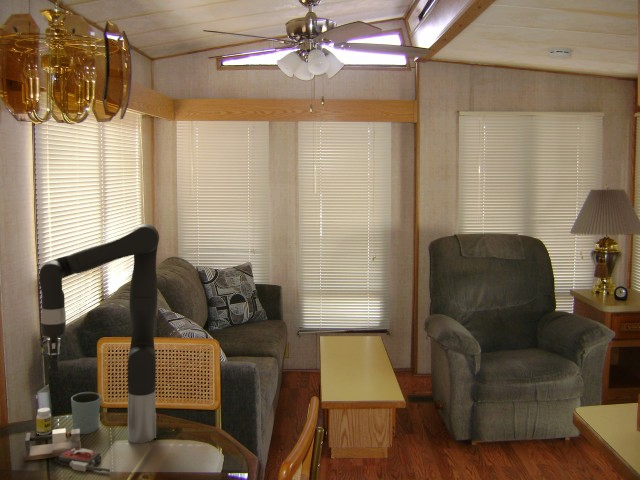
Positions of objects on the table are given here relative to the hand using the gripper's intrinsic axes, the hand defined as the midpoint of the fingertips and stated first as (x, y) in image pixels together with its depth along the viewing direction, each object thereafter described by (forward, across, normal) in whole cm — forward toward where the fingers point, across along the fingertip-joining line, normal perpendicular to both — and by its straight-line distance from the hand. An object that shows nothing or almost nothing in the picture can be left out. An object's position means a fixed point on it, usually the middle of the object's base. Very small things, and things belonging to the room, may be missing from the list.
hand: (54, 367), depth 211 cm
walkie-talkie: (+27, -19, -9) cm, 35 cm away
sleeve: (+23, -8, -1) cm, 24 cm away
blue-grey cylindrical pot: (+27, +8, -10) cm, 30 cm away
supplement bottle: (+27, +10, +4) cm, 29 cm away
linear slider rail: (+27, -7, +1) cm, 28 cm away
